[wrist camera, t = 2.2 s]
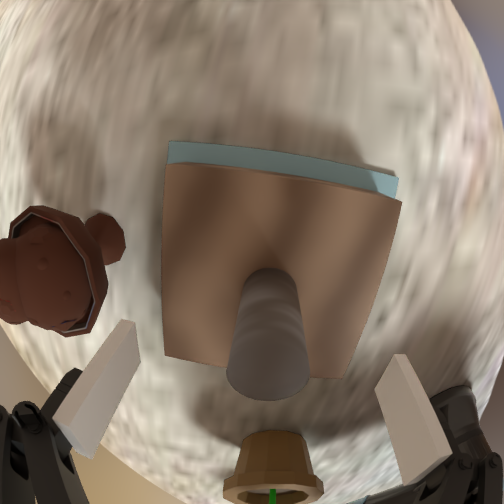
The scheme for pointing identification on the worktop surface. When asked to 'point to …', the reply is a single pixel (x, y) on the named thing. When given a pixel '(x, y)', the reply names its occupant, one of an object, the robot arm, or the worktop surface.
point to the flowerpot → (273, 471)
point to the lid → (269, 272)
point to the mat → (282, 164)
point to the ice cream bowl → (57, 269)
